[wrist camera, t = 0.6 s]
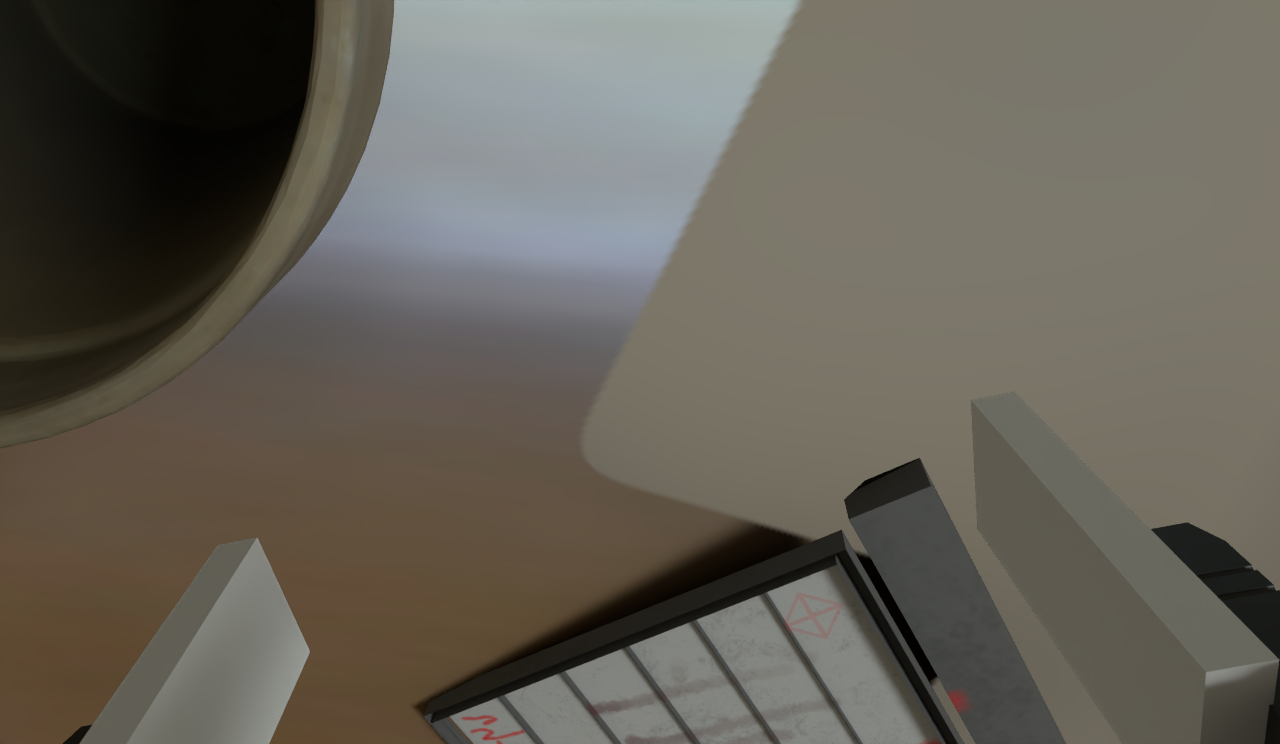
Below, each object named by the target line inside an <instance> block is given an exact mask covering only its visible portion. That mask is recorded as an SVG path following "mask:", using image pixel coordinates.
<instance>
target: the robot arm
mask: <svg viewBox="0 0 1280 744" xmlns="http://www.w3.org/2000/svg"><path fill="white" fill-rule="evenodd" d="M971 411H972V431H973V451H974V470H975V490H976V508H977V509H976V510H977V528H978V530H979V532H980V533H981V535H982V536H983V538H984V539H985V540H986V542H987V543H988V545H989V546H990V548H991V549H992V551H993V552H994V554H995V555H996V557H997V558H998V560H999V561H1000V563H1001V564H1002V566H1003V567H1004V569H1005V570H1006V571H1007V573H1008V575H1009V576H1010V578H1011V579H1012V581H1013V582H1014V583H1015V585H1016V587H1017V588H1018V589H1019V591H1020V592H1021V594H1022V595H1023V597H1024V598H1025V600H1026V601H1027V603H1028V604H1029V606H1030V607H1031V609H1032V610H1033V612H1034V613H1035V615H1036V616H1037V618H1038V619H1039V621H1040V622H1041V624H1042V625H1043V627H1044V628H1045V630H1046V631H1047V632H1048V634H1049V636H1050V637H1051V639H1052V640H1053V641H1054V643H1055V644H1056V646H1057V647H1058V649H1059V650H1060V652H1061V653H1062V655H1063V656H1064V658H1065V659H1066V661H1067V662H1068V664H1069V665H1070V667H1071V668H1072V670H1073V671H1074V673H1075V674H1076V676H1077V677H1078V679H1079V680H1080V682H1081V683H1082V684H1083V686H1084V687H1085V689H1086V691H1087V692H1088V693H1089V695H1090V696H1091V698H1092V699H1093V701H1094V702H1095V704H1096V705H1097V707H1098V708H1099V710H1100V711H1101V713H1102V714H1103V716H1104V717H1105V719H1106V720H1107V722H1108V723H1109V725H1110V726H1111V728H1112V729H1113V731H1114V732H1115V734H1116V735H1117V737H1118V738H1119V740H1120V741H1121V742H1122V744H1280V590H1278V591H1276V590H1275V588H1274V585H1273V584H1272V583H1271V582H1270V581H1269V580H1268V579H1267V578H1265V577H1264V576H1263V575H1262V574H1261V573H1260V572H1259V571H1258V570H1255V571H1254V570H1253V568H1252V565H1251V564H1250V563H1249V562H1248V561H1247V560H1246V559H1245V558H1244V557H1242V556H1241V555H1240V554H1239V553H1238V552H1237V551H1236V550H1235V549H1233V547H1231V546H1230V545H1229V544H1228V543H1227V542H1226V541H1224V540H1222V539H1220V538H1218V537H1216V536H1214V535H1212V534H1210V533H1208V532H1206V531H1204V530H1202V529H1200V528H1198V527H1195V526H1194V525H1191V524H1190V523H1182V524H1176V525H1171V526H1166V527H1160V528H1154V529H1150V528H1149V527H1148V526H1147V525H1146V524H1145V523H1144V522H1143V521H1142V520H1141V519H1140V518H1139V517H1138V516H1137V515H1136V514H1135V513H1134V512H1133V511H1132V510H1131V509H1130V508H1129V507H1128V506H1127V505H1126V504H1125V503H1124V502H1123V501H1122V500H1121V499H1120V498H1119V497H1118V496H1117V495H1116V494H1115V493H1114V492H1113V491H1112V490H1111V489H1110V488H1109V487H1108V486H1107V485H1106V484H1105V483H1104V482H1103V481H1102V480H1101V479H1100V478H1099V477H1098V476H1097V475H1096V474H1095V473H1094V472H1093V471H1092V470H1091V469H1090V468H1089V467H1088V466H1087V465H1086V464H1085V463H1084V462H1083V460H1082V459H1080V458H1079V456H1078V455H1077V454H1076V453H1075V452H1074V451H1073V450H1072V449H1070V447H1069V446H1068V445H1067V444H1066V443H1065V442H1064V441H1063V440H1062V439H1061V438H1060V437H1059V436H1058V435H1057V434H1056V433H1055V432H1054V431H1053V430H1052V429H1051V428H1050V427H1049V426H1048V425H1047V424H1046V423H1045V422H1044V421H1043V420H1042V419H1041V418H1040V417H1039V416H1038V415H1037V414H1036V413H1035V412H1034V411H1033V410H1032V409H1031V408H1030V407H1029V406H1028V405H1027V404H1026V403H1025V402H1024V401H1023V400H1022V399H1021V398H1020V397H1019V396H1018V395H1017V394H1016V393H1015V392H1011V393H1005V394H1001V395H995V396H990V397H985V398H979V399H974V400H971ZM309 653H310V651H309V649H308V646H307V644H306V642H305V640H304V638H303V636H302V633H301V631H300V629H299V627H298V625H297V623H296V620H295V618H294V616H293V614H292V612H291V610H290V607H289V605H288V603H287V601H286V599H285V597H284V594H283V592H282V590H281V588H280V586H279V584H278V581H277V579H276V577H275V575H274V573H273V571H272V568H271V566H270V564H269V562H268V560H267V558H266V555H265V553H264V551H263V549H262V547H261V545H260V542H259V540H258V538H252V539H247V540H241V541H236V542H231V543H226V544H221V545H217V547H216V548H215V549H214V551H213V552H212V554H211V555H210V557H209V558H208V559H207V561H206V562H205V564H204V565H203V567H202V568H201V570H200V571H199V572H198V574H197V575H196V577H195V578H194V580H193V581H192V582H191V584H190V585H189V587H188V588H187V590H186V591H185V593H184V594H183V595H182V597H181V598H180V600H179V601H178V603H177V604H176V605H175V607H174V608H173V610H172V611H171V613H170V614H169V616H168V617H167V618H166V620H165V621H164V623H163V624H162V626H161V627H160V629H159V630H158V631H157V633H156V634H155V636H154V637H153V639H152V640H151V641H150V643H149V644H148V646H147V647H146V649H145V650H144V652H143V653H142V654H141V656H140V657H139V659H138V660H137V662H136V663H135V664H134V666H133V667H132V669H131V670H130V672H129V673H128V675H127V676H126V677H125V679H124V680H123V682H122V683H121V685H120V686H119V687H118V689H117V690H116V692H115V693H114V695H113V696H112V698H111V699H110V700H109V702H108V703H107V705H106V706H105V708H104V709H103V710H102V712H101V713H100V715H99V716H98V718H97V719H96V721H95V722H94V723H93V725H88V726H83V727H80V728H79V729H78V730H77V731H76V732H75V733H74V734H73V735H72V736H71V737H69V738H68V739H67V740H66V741H65V742H64V743H63V744H269V742H270V740H271V738H272V736H273V734H274V731H275V729H276V727H277V725H278V722H279V720H280V718H281V716H282V713H283V711H284V709H285V707H286V704H287V702H288V700H289V698H290V695H291V693H292V691H293V689H294V686H295V684H296V682H297V680H298V678H299V675H300V673H301V671H302V669H303V666H304V664H305V662H306V660H307V657H308V655H309Z"/></svg>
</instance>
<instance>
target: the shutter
mask: <svg viewBox="0 0 1280 744" xmlns="http://www.w3.org/2000/svg"><path fill="white" fill-rule="evenodd" d="M844 501H845V505H846V509H847V513H848V518H849V520H850V522H851V524H852V526H853V527H854V529H855V531H856V533H857V535H858V536H859V538H860V540H861V542H862V543H863V545H864V547H865V549H866V550H867V552H868V554H869V556H870V558H871V559H872V561H873V563H874V565H875V566H876V568H877V570H878V572H879V573H880V575H881V577H882V579H883V580H884V582H885V584H886V586H887V588H888V589H889V591H890V593H891V595H892V596H893V598H894V600H895V602H896V603H897V605H898V607H899V609H900V611H901V612H902V614H903V616H904V618H905V619H906V621H907V623H908V625H909V626H910V628H911V630H912V632H913V633H914V635H915V637H916V639H917V641H918V642H919V644H920V646H921V648H922V649H923V651H924V653H925V655H926V656H927V658H928V660H929V662H930V664H931V665H932V667H933V669H934V671H935V672H936V674H937V676H938V678H939V679H940V681H941V683H942V685H943V686H944V688H945V690H946V692H947V694H948V695H949V697H950V699H951V700H952V702H953V704H954V706H955V708H956V709H957V711H958V713H959V715H960V716H961V718H962V720H963V722H964V724H965V725H966V727H967V729H968V731H969V732H970V734H971V736H972V738H973V739H974V741H975V743H976V744H1066V742H1065V741H1064V739H1063V737H1062V735H1061V733H1060V731H1059V729H1058V727H1057V725H1056V723H1055V721H1054V719H1053V717H1052V715H1051V713H1050V711H1049V709H1048V707H1047V705H1046V704H1045V701H1044V700H1043V698H1042V696H1041V694H1040V692H1039V690H1038V688H1037V686H1036V684H1035V682H1034V680H1033V678H1032V676H1031V674H1030V672H1029V670H1028V668H1027V667H1026V664H1025V662H1024V661H1023V659H1022V657H1021V655H1020V653H1019V651H1018V649H1017V647H1016V645H1015V643H1014V641H1013V639H1012V637H1011V635H1010V633H1009V631H1008V629H1007V627H1006V626H1005V623H1004V621H1003V619H1002V617H1001V616H1000V614H999V612H998V610H997V608H996V606H995V604H994V602H993V600H992V598H991V596H990V594H989V592H988V590H987V588H986V586H985V584H984V582H983V580H982V579H981V576H980V575H979V573H978V571H977V569H976V567H975V565H974V563H973V561H972V559H971V557H970V555H969V553H968V551H967V549H966V547H965V545H964V544H963V542H962V539H961V537H960V536H959V534H958V532H957V530H956V528H955V526H954V524H953V522H952V520H951V518H950V516H949V514H948V512H947V510H946V508H945V506H944V504H943V502H942V500H941V498H940V496H939V495H938V493H937V491H936V489H935V487H934V485H933V483H932V481H931V479H930V477H929V475H928V473H927V471H926V469H925V467H924V465H923V463H922V461H921V459H920V458H917V459H915V460H913V461H910V462H908V463H905V464H903V465H901V466H898V467H896V468H893V469H891V470H889V471H886V472H884V473H881V474H879V475H877V476H874V477H872V478H869V479H867V480H865V481H864V482H863V483H861V484H860V485H859V486H858V487H857V488H856V489H855V490H854V491H853V492H852V493H851V494H850V495H849V496H848V497H847V498H846V499H845V500H844ZM449 716H450V717H451V718H452V719H453V720H454V722H455V723H456V724H457V725H458V726H459V727H460V728H461V730H462V731H463V732H464V733H465V734H466V735H467V736H468V738H469V739H470V740H471V741H472V742H473V743H474V744H964V742H963V741H962V739H961V737H960V736H959V734H958V732H957V730H956V729H955V727H954V725H953V723H952V722H951V720H950V718H949V716H948V715H947V713H946V711H945V709H944V708H943V706H942V704H941V702H940V701H939V699H938V697H937V695H936V694H935V692H934V690H933V688H932V687H931V685H930V683H929V681H928V680H927V678H926V676H925V674H924V673H923V671H922V669H921V667H920V666H919V664H918V662H917V660H916V659H915V657H914V655H913V653H912V652H911V650H910V648H909V646H908V645H907V643H906V641H905V639H904V638H903V636H902V634H901V632H900V631H899V629H898V627H897V626H896V624H895V622H894V620H893V619H892V617H891V615H890V613H889V612H888V610H887V608H886V606H885V605H884V603H883V601H882V599H881V598H880V596H879V594H878V592H877V591H876V589H875V587H874V585H873V584H872V582H871V580H870V578H869V577H868V575H867V573H866V571H865V570H864V568H863V566H862V564H861V563H860V561H859V559H858V557H857V556H856V554H855V552H854V550H853V549H852V547H851V545H850V544H849V542H848V540H847V538H846V537H845V535H844V533H843V531H842V530H840V531H838V532H835V533H833V534H830V535H828V536H825V537H823V538H820V539H818V540H815V541H813V542H810V543H808V544H805V545H803V546H800V547H798V548H795V549H793V550H790V551H788V552H785V553H783V554H781V555H778V556H776V557H773V558H771V559H768V560H766V561H763V562H761V563H758V564H756V565H753V566H751V567H748V568H746V569H743V570H741V571H738V572H736V573H733V574H731V575H728V576H726V577H723V578H721V579H718V580H716V581H713V582H711V583H708V584H706V585H704V586H701V587H699V588H696V589H694V590H691V591H689V592H686V593H684V594H681V595H679V596H676V597H674V598H671V599H669V600H666V601H664V602H661V603H659V604H656V605H654V606H651V607H649V608H646V609H644V610H641V611H639V612H636V613H634V614H631V615H629V616H627V617H624V618H622V619H619V620H617V621H614V622H612V623H609V624H607V625H604V626H602V627H599V628H597V629H594V630H592V631H589V632H587V633H584V634H582V635H579V636H577V637H574V638H572V639H569V640H567V641H564V642H562V643H559V644H557V645H554V646H552V647H550V648H547V649H545V650H542V651H540V652H537V653H535V654H532V655H530V656H527V657H525V658H522V659H520V660H517V661H515V662H512V663H510V664H507V665H505V666H502V667H500V668H497V669H495V670H492V671H490V672H487V673H485V674H483V675H481V676H479V677H477V678H475V679H473V680H471V681H469V682H467V683H465V684H463V685H461V686H459V687H457V688H455V689H453V690H451V691H449V692H447V693H445V694H443V695H441V696H439V697H437V698H435V699H433V700H431V701H429V703H428V706H427V709H426V711H425V714H424V716H423V717H424V718H425V719H426V720H427V721H428V722H429V723H430V724H431V726H432V727H433V728H434V729H435V730H436V731H437V732H438V733H439V735H440V736H441V737H442V738H443V739H444V740H445V741H446V743H447V744H470V743H469V742H468V741H467V739H466V738H465V737H464V736H463V735H462V734H461V732H460V731H459V730H458V729H457V728H456V727H455V726H454V724H453V723H452V722H451V721H450V720H449V719H448V717H449Z"/></svg>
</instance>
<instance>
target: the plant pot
mask: <svg viewBox="0 0 1280 744" xmlns="http://www.w3.org/2000/svg"><path fill="white" fill-rule="evenodd" d="M393 15H394V0H0V448H4V447H9V446H13V445H18V444H23V443H27V442H32V441H36V440H41V439H45V438H48V437H51V436H54V435H57V434H60V433H63V432H66V431H69V430H72V429H75V428H78V427H81V426H84V425H87V424H89V423H92V422H94V421H96V420H99V419H101V418H103V417H106V416H108V415H110V414H113V413H115V412H117V411H120V410H122V409H124V408H126V407H128V406H130V405H131V404H133V403H135V402H136V401H138V400H140V399H142V398H143V397H145V396H147V395H148V394H150V393H152V392H154V391H155V390H157V389H159V388H161V387H162V386H164V385H166V384H167V383H169V382H170V381H171V380H173V379H174V378H176V377H177V376H178V375H180V374H181V373H182V372H184V371H185V370H186V369H188V368H189V367H191V366H192V365H193V364H195V363H196V362H197V361H198V360H199V359H201V358H202V357H203V356H204V355H205V354H206V353H208V352H209V351H210V350H211V349H212V348H213V347H215V346H216V345H217V344H218V343H219V342H220V341H222V340H223V339H224V338H225V337H226V336H227V334H228V333H229V332H230V331H231V330H232V329H233V328H234V327H235V326H236V325H237V324H238V323H239V322H240V321H241V320H242V319H243V318H244V317H245V316H246V315H247V314H248V313H249V312H250V311H251V310H252V308H253V307H254V306H255V305H256V304H257V303H258V302H259V301H260V300H261V299H262V298H263V297H264V296H265V295H266V294H267V293H268V292H269V291H270V290H271V289H272V288H273V287H274V286H275V285H276V284H277V283H278V282H279V281H280V280H281V279H282V278H283V277H284V276H285V275H286V274H287V273H288V272H289V271H290V270H291V269H292V268H293V267H294V266H295V265H296V263H297V262H298V261H299V260H300V258H301V257H302V256H303V255H304V253H305V252H306V251H307V250H308V248H309V247H310V246H311V245H312V243H313V242H314V241H315V239H316V238H317V237H318V235H319V234H320V232H321V231H322V229H323V228H324V227H325V225H326V224H327V222H328V221H329V219H330V218H331V216H332V214H333V213H334V211H335V209H336V207H337V206H338V204H339V202H340V200H341V199H342V197H343V195H344V194H345V192H346V190H347V188H348V186H349V184H350V182H351V180H352V177H353V175H354V173H355V171H356V168H357V166H358V164H359V162H360V160H361V157H362V155H363V153H364V151H365V148H366V145H367V142H368V139H369V135H370V132H371V129H372V126H373V123H374V120H375V117H376V114H377V110H378V107H379V104H380V99H381V94H382V89H383V84H384V79H385V75H386V70H387V65H388V60H389V54H390V44H391V35H392V25H393Z"/></svg>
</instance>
